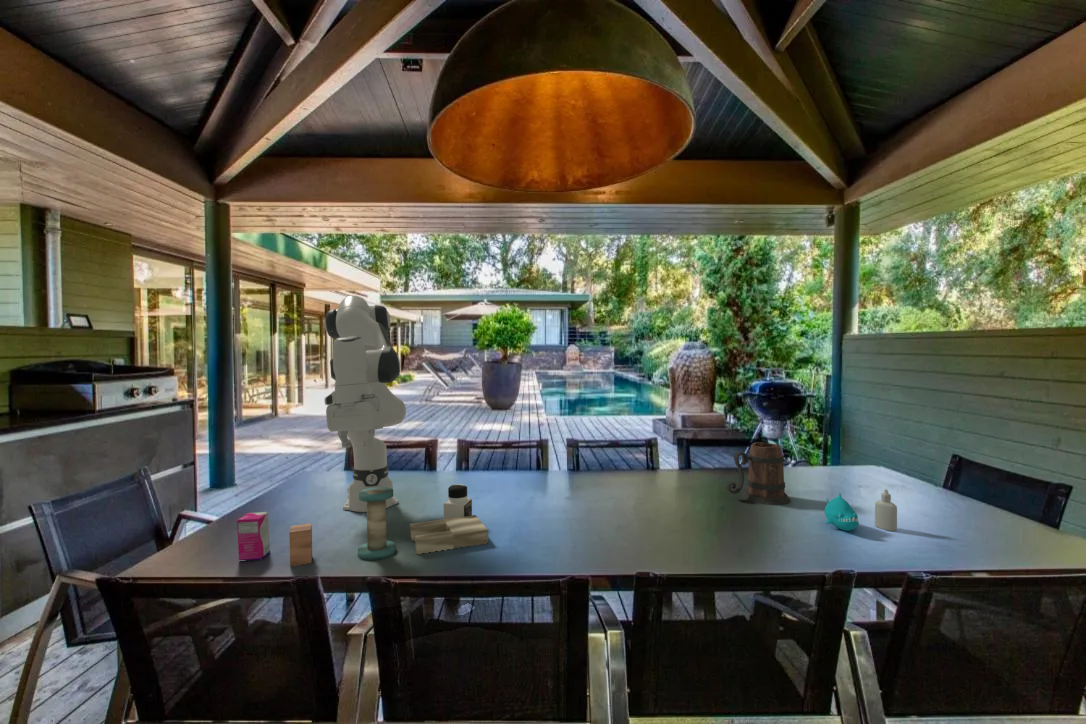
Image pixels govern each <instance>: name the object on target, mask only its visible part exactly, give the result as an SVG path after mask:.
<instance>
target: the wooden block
mask: <svg viewBox="0 0 1086 724" xmlns="http://www.w3.org/2000/svg"><path fill="white" fill-rule="evenodd" d="M312 525H313V523H304V524H297V525H291V526H290V530H289V534H288V535H289V567H290V566H291V567H295V566H294V565H298V566H303V565H302V564H304V565H309V564H308V563H311V564H312V563H313V562H312V560H313V531H312V530H313V528H312V527H313V526H312Z"/></svg>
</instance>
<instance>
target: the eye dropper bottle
mask: <svg viewBox="0 0 1086 724" xmlns="http://www.w3.org/2000/svg"><path fill="white" fill-rule="evenodd" d="M880 496H881V497H880V500H877V501H875V502H874V526H875V527H876V528H878V529H881V530H883V531H884V530H885V531H889V532H894V531H897V530H898V506H897V504H895V503H893V502H892V501H891V500H892V495H891V494H890V493H889V491H888V489H886V488H885V489H884V491H883V492H882V493H881V495H880Z"/></svg>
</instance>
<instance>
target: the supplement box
mask: <svg viewBox="0 0 1086 724" xmlns="http://www.w3.org/2000/svg"><path fill="white" fill-rule="evenodd" d="M269 524H270V522H269V511H260V512H247V513H246V514H244V515H242V516H241V517H239V518H238V519H237V520H236V525H237V526H236V527H237V529H236V530H237V547H238V548H237V549H238V561H239V560H261V559H262V560H264V558H266V556H268V555H269V554H270V553H271V542H270V525H269ZM267 554H268V555H267ZM262 560H261V561H262Z"/></svg>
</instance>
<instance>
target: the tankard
mask: <svg viewBox="0 0 1086 724" xmlns="http://www.w3.org/2000/svg"><path fill="white" fill-rule="evenodd" d="M740 456H741V460H742V461H741V464H740V459H739V457H740ZM733 460H734V464H735V466H736V468H737V470H738V474H739V477H738V483H737V484H736V483H735V482H733V481H727V483H726V484H725V485H726V490H727V491H728V492H729V493H731V494H733V495H737V494H739V493H740V492H741V491H742V489H743V487H744V481H745V474H744V469H743V467H742V466H745V465H747V464H748V476H747V478H746V479H747V480H746V481H747V482H746V485H747V489H745V491H744V492H743V493H742V494H741V498H742V499H743V500H745V501H747V502H751V503H754V504H759V505H764V506H765V505H766V506H784V505H789V504H791V503H792V500H791V499H790V498H789V496H788V494H787V493H786V492H785V489H786V482H785V477H784V476H785V473H784V472H785V471H784V468H785V467H784V462H785V458H784V455H783V450H782V445H780V444H777V443H768V442H759V441H757V442H756V441H755V442H753V443H751V444H750V449H749V452H748V454H747V453H746V452H743V451H740V450H739V451H736V452H735V453H734V454H733Z"/></svg>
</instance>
